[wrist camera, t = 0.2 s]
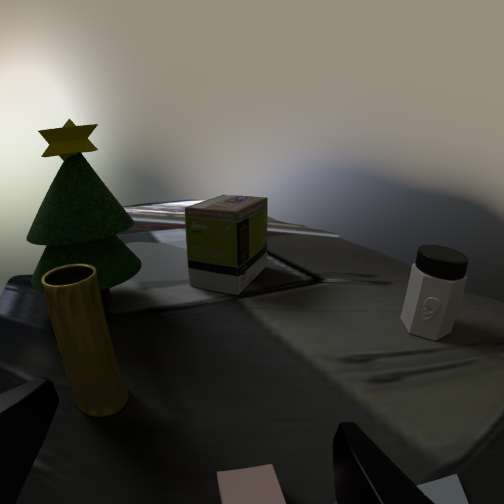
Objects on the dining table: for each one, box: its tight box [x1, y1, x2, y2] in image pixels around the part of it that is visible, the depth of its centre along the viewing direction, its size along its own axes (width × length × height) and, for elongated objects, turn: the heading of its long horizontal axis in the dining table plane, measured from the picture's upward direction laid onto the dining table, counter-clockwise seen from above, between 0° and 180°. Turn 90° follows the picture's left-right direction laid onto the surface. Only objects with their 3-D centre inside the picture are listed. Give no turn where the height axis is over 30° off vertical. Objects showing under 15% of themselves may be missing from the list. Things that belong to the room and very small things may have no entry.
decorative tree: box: [27, 119, 141, 310], centre depth 42 cm, size 19×19×30 cm
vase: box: [41, 264, 129, 417], centre depth 25 cm, size 6×6×14 cm
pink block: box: [217, 464, 286, 504], centre depth 17 cm, size 4×4×4 cm
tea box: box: [185, 195, 267, 295], centre depth 58 cm, size 15×10×15 cm
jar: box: [401, 245, 468, 341], centre depth 40 cm, size 9×8×12 cm
